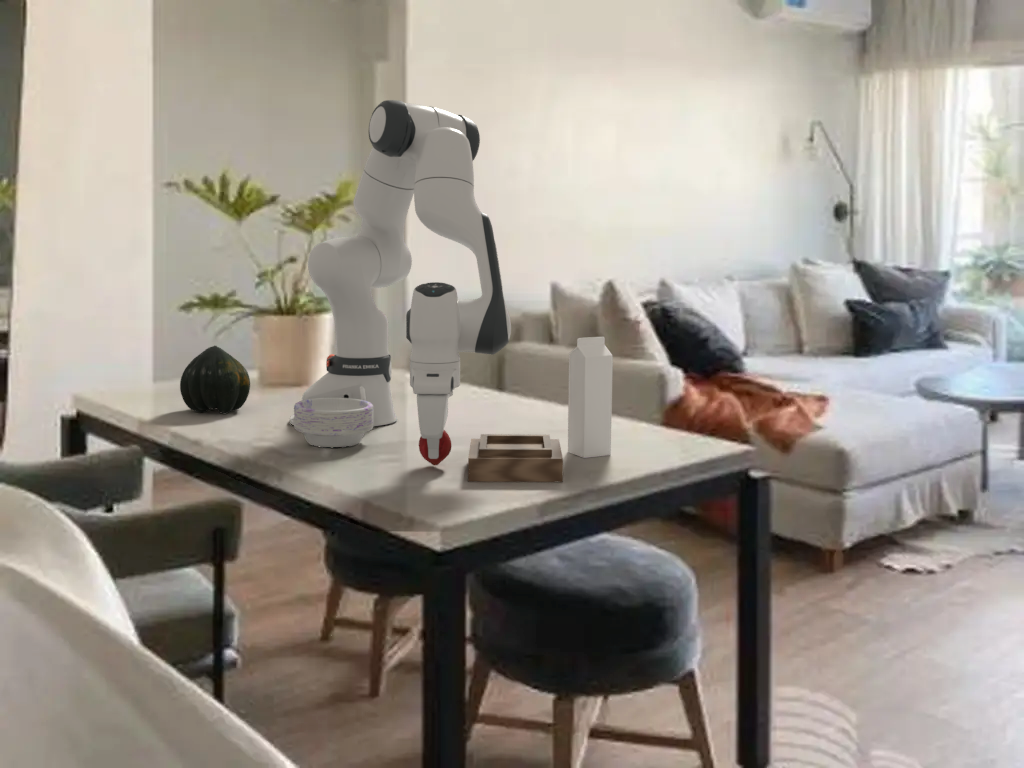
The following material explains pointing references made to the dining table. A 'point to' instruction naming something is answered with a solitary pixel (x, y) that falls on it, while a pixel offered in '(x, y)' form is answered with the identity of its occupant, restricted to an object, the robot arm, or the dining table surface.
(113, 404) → the dining table surface
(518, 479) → the walnut pedestal
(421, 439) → the onion
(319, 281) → the robot arm
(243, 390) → the squash
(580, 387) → the milk
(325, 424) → the paper bowls
